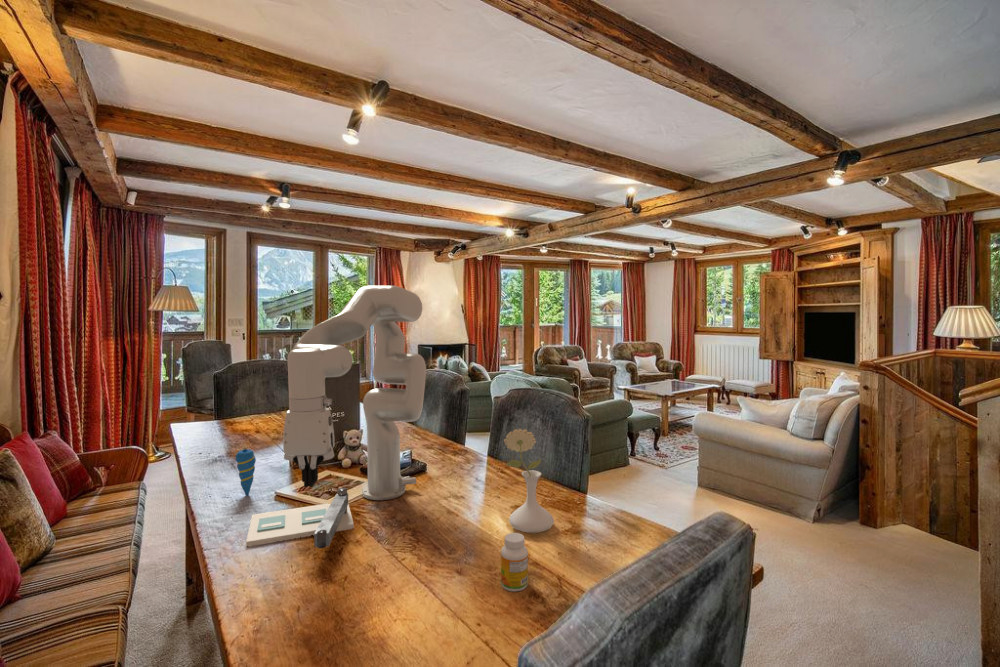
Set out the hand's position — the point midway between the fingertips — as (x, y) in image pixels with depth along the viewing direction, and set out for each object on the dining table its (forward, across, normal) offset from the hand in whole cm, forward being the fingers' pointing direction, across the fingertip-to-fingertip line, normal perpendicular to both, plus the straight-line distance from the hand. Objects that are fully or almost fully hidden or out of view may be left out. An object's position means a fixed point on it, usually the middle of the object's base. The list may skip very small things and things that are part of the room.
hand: (310, 484), depth 107 cm
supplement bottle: (+16, -45, +15) cm, 50 cm away
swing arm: (+14, -3, -7) cm, 16 cm away
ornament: (+16, +31, -35) cm, 50 cm away
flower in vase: (+16, -50, -10) cm, 54 cm away
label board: (+16, +8, -15) cm, 23 cm away
